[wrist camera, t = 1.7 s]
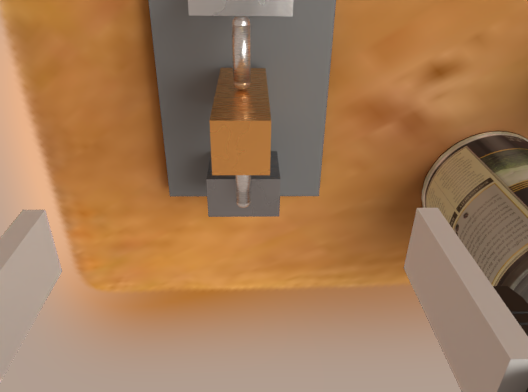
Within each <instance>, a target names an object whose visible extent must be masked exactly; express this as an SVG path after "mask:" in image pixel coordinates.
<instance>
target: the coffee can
mask: <svg viewBox="0 0 528 392" xmlns="http://www.w3.org/2000/svg"><path fill="white" fill-rule="evenodd" d="M422 205H423V208H438V209H439V210H440V211H441V213H442V214H443V216H444V217H445V219H446V220H447V221H448V223H449V224H450V226H451V227H452V229H453V230H454V232H455V233H456V234H457V236H458V237H459V239H460V240H461V242H462V243H463V244H464V246H465V247H466V249H467V250H468V252H469V253H470V254H471V256H472V257H473V259H474V260H475V262H476V263H477V264H478V266H479V267H480V269H481V270H482V272H483V273H484V274H485V276H486V277H487V279H488V280H489V282H490V283H491V285H492V286H508V287H510V288H511V289H512V290H514V291H515V292H516V293H518V294H519V295H520V296H522V297H523V298H524V299H525V301H526V302H527V303H528V139H526V138H524V137H522V136H520V135H518V134H514V133H511V132H501V131H495V132H486V133H481V134H478V135H474V136H471V137H469V138H467V139H464V140H462V141H460V142H458V143H457V144H455V145H454V146H452V147H451V148H450V149H448V150H447V151H446V152H445V153H444V154H442V155H441V156H440V157H439V159H438V160H437V161H436V162H435V163H434V165H433V166H432V168H431V169H430V171H429V172H428V174H427V176H426V178H425V181H424V185H423V189H422Z"/></svg>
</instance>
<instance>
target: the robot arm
mask: <svg viewBox="0 0 528 392" xmlns="http://www.w3.org/2000/svg"><path fill="white" fill-rule="evenodd" d="M404 270H405V272H406V274H407V276H408V278H409V280H410V282H411V285H412V287H413V289H414V291H415V293H416V295H417V297H418V299H419V302H420V304H421V306H422V308H423V310H424V312H425V314H426V317H427V319H428V321H429V323H430V325H431V327H432V329H433V331H434V334H435V336H436V338H437V340H438V342H439V344H440V346H441V349H442V351H443V352H444V355H445V357H446V359H447V361H448V364H449V366H450V368H451V370H452V372H453V374H454V376H455V378H456V381H457V383H458V385H459V387H460V389H461V391H462V392H528V303H527V302H526V301H525V299H524V298H523V297H522V296H520V295H519V294H518V293H516V292H515V291H514V290H512V289H511V288H510V287H508V286H492V285H491V283H490V282H489V280H488V279H487V277H486V276H485V274H484V273H483V272H482V270H481V269H480V267H479V266H478V264H477V263H476V262H475V260H474V259H473V257H472V256H471V254H470V253H469V252H468V250H467V249H466V247H465V246H464V244H463V243H462V242H461V240H460V239H459V237H458V236H457V234H456V233H455V232H454V230H453V229H452V227H451V226H450V224H449V223H448V221H447V220H446V219H445V217H444V216H443V214H442V213H441V211H440V210H439V209H438V208H417V209H416V214H415V219H414V223H413V228H412V232H411V237H410V242H409V246H408V251H407V255H406V260H405V265H404ZM61 272H62V269H61V265H60V262H59V258H58V255H57V251H56V247H55V244H54V240H53V236H52V233H51V229H50V226H49V222H48V218H47V214H46V211H45V210H22V212H21V213H20V214H19V215H18V217H17V218H16V219H15V220H14V221H13V223H12V224H11V225H10V226H9V228H8V229H7V230H6V231H5V232H4V234H3V235H2V236H1V237H0V383H1V381H2V379H3V377H4V375H5V374H6V372H7V370H8V368H9V366H10V364H11V363H12V361H13V359H14V357H15V355H16V354H17V352H18V350H19V348H20V346H21V345H22V343H23V341H24V339H25V337H26V335H27V334H28V332H29V330H30V328H31V327H32V325H33V323H34V321H35V319H36V318H37V316H38V314H39V312H40V310H41V309H42V307H43V305H44V303H45V301H46V300H47V298H48V296H49V294H50V292H51V291H52V289H53V287H54V285H55V283H56V282H57V280H58V278H59V276H60V274H61Z"/></svg>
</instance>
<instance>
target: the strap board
mask: <svg viewBox="0 0 528 392" xmlns="http://www.w3.org/2000/svg"><path fill="white" fill-rule="evenodd" d="M148 1H149V10H150V19H151V28H152V37H153V46H154V55H155V65H156V74H157V83H158V92H159V101H160V110H161V119H162V128H163V137H164V147H165V156H166V165H167V174H168V183H169V192H170V196H207V183H206V178H207V173H208V167H209V161H210V156H211V142H210V122H209V120H210V115H211V111H212V106H213V102H214V97H215V92H216V88H217V83H218V78H219V74H220V69H221V68H233V49H232V20H233V18H234V17H235V16H189V10H188V0H148ZM335 6H336V0H293V16H247V17H248V18H249V20H250V24H251V68H266V77H267V86H268V95H269V104H270V113H271V151H277V155H278V163H279V171H280V196H319V188H320V177H321V165H322V154H323V143H324V131H325V120H326V108H327V97H328V86H329V74H330V63H331V52H332V40H333V29H334V17H335Z"/></svg>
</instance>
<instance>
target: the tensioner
mask: <svg viewBox="0 0 528 392" xmlns="http://www.w3.org/2000/svg"><path fill="white" fill-rule="evenodd" d="M206 183H207V199H208V216H209V217H233V216H279V206H280V171H279V163H278V155H277V151H271V157H270V175H251V203H250V205H249V206H248V207H246V208H241V207H239V206H238V205H237V203H236V183H235V175H212V161H211V156H210V161H209V167H208V173H207V178H206Z"/></svg>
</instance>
